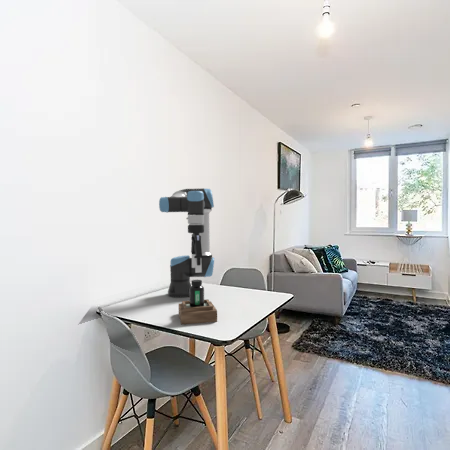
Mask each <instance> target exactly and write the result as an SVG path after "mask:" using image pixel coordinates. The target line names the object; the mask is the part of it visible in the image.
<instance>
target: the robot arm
mask: <svg viewBox="0 0 450 450" xmlns="http://www.w3.org/2000/svg"><path fill="white" fill-rule="evenodd" d="M158 205H159V206H158V208H159V211H160V212H161V213H187V217H186V220H187V224H188V225H187V233H189V234H191V247H190V249H191V250H190V253H191V257H190V255H179V256H175V257H172V258H171V259H170V265H169V268H170V284H169V287H168V290H167V296H169V297H170V298H185V297H189V289H190V287H191V286H192V285H191V279H190V278H207V277H208V278H209V277H212V276H213V273H214V268H215V267H214V266H215V257H213V254H212V253H211V251H210V248H211V246H210V213H211V212H212V208H215V205H214V198H213V191H212V189H210V188H183V189H180V190H177V191H174V193H172V195H171V196H163V197H162V196H161V197H160V198H159V201H158Z"/></svg>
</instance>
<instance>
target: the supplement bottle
mask: <svg viewBox="0 0 450 450" xmlns="http://www.w3.org/2000/svg"><path fill="white" fill-rule="evenodd" d="M190 283H191V287H190V289H189V296H188V297H189V301H190V307H202V306H204V300H205V287H204V286H203V282H202V280H201V279H192V280H190Z"/></svg>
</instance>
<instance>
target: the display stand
mask: <svg viewBox="0 0 450 450" xmlns="http://www.w3.org/2000/svg"><path fill="white" fill-rule="evenodd" d="M178 317H179V321H180V324H181V325H182V326H183V325H192V324H203V323H205V324H206V323H216V322H218V310H217V308H216V306H215V305H214V304H213V302H212V301H211V300H210V299H204V306H202V307H190V300H182V301H181V302H180V303H178Z"/></svg>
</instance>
